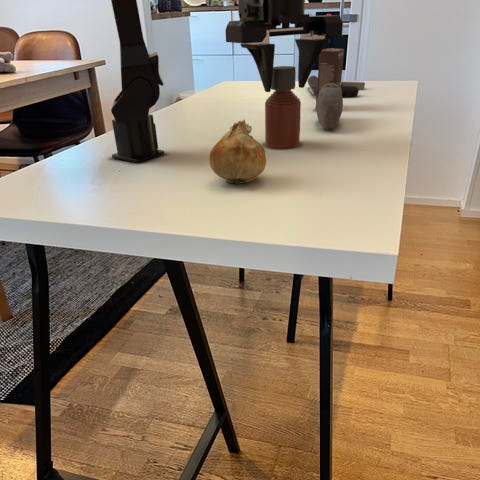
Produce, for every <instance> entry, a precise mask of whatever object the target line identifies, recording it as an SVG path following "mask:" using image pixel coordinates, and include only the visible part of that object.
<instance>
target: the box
mask: <svg viewBox="0 0 480 480" xmlns="http://www.w3.org/2000/svg"><path fill="white" fill-rule="evenodd" d="M344 57H345V49H344V48H323V49H322V51H321V53H320V55H319V57H318V58H319V59H318V69H317V70H318V71H317V78H318V82H317V95H315V104H316V103H317V98H318V95H319V92H320V90H321V89H322V87H323V86H324V85H326V84H327V83H336V84H338V85H339V86H340V88H341V82H342V75H343V67H344ZM315 111H316V107H315Z"/></svg>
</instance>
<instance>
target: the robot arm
mask: <svg viewBox="0 0 480 480" xmlns="http://www.w3.org/2000/svg"><path fill="white" fill-rule="evenodd" d="M110 1H111V6H112V12H113V16H114V21H115V25H116V31H117V35H118V36H117V37H118V40H119V53H120V54H119V59H120V60H119V61H120V80H121V81H120V83H121V90H120V92H119V93H118V94H117V96H116V97H115V98H114V100H113V103H112V106H111V109H110V112H111V115H112V116H113V118H114V119H111V123H112V124H111V125H112V129H113V134H114V141H115V146H116V153H112V154H111V158H112V159H118V160H123V161H127V162H133V163H142V162H144V161H146V160H147V161H148V160H150V159H152V158H155V157H158V156H161V155H164V154H165V150H164V149H159V143H158V135H157V126H156V124H155V121H154V115H153V114H149V113H150V109H151V108H153V107H154V106H155V105H156V104H157V103H158V101H159V99H160V95H161V93H160V91H161V90H160V89H161V88H160V86H161V87H163V86H164V82H163V81H164V80H163V78H162V76H161V75H160V69H159V68H160V65H159V63H160V62H159V60H160V59H159V54H158V52H153V53H149V50H148V47H147V45H146V41H145V38H144V34H143V29H142V23H141V18H140V17H141V16H140V11H139V5H138V1H137V0H110ZM305 9H306V0H238V18H239V19H237V20H228V23H227V25H226V27H225V30H224V31H225V32H224V33H225V43H233V44H240V47H241V48H242V49H246V50H247V52H249V54H250V55H251V57H252V58H253V61H254V64H255V65H256V68H257V71H258V74H259V77H260V80H261V84H262V87H263V89H264V92H265V93H270V92H271V90H272V89H271V85H272V76H273V67H274V61H275V51H276V50H275V49H276V44H275V43H270V37H283V36H298V35H300V38H295V39H294V41H295V44H296V47H297V50H298V65H297V67H298V69H297V81H298V88H299V89H300V88H301V89H303V88H305V86H306V84H307V83H308V82H307V81H308V79H309V78H310V75H311V73H312V71H313V68H314V67H315V64H316V62H317V60H318V58H319V56H320V53H321V51H322V50H323V49H324V47H325V46H326V44H329V43H330V42H331V41H330V40H331V38H330V37H342V36H343V31H344V22H343V20H342V18H341V16H340V15H339V14H338V15H334V14H333V15H332V14H331V15H311V14H310V13H305V11H306V10H305ZM290 25H294V26H290ZM280 26H281V27H280ZM326 37H327V38H326ZM328 37H329V38H328Z"/></svg>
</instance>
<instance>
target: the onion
mask: <svg viewBox="0 0 480 480" xmlns="http://www.w3.org/2000/svg"><path fill="white" fill-rule="evenodd" d="M249 125H250V124H249V123H246V119H245V118H244V119H243V120H238V121H237V122H234V123H233V125H232V126H230V127H229V131H227V132H225V134H224V135H223V136H222V137H221V138H220V139H219V140H218V141H217V142H216V143H215V144H214V146H213V147H212V149H211V151H210V152H209V155H208V163H209V167H210V169H211V171H213V173H214V174H215V175H216V176H217V177H219V178H220V179H223V180H225V181H226V182H227V183H232V184H233V185H235V184H240V185H241V184H245V183H249V182H251V181H254V180H255V179H256V178H257V177H260V175H261V174H262V173H263V172H264V170H265V168H266V165H267V153H266V150H265V148H264V146H263V145H262V144H261V143H260V142H259V141H258V140H256V138H255V139H254V137H253V136H252V135H250V134H251V132H252V130H253V126H252V125H250V126H249Z"/></svg>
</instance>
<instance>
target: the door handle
mask: <svg viewBox="0 0 480 480" xmlns="http://www.w3.org/2000/svg"><path fill="white" fill-rule="evenodd" d="M317 82H318V76H316V75H311V76H309V77H308V80H307V82H306V83H307V84H308V86H309V90H308V91H309V92H310V93H311V94H312V95H313V96H316V95H317ZM365 86H366V83H365V82H364V81H341V90H342V97H348V98H349V97H352V98H354V97H357V96H358V95H359V92H360V91H361V90H365ZM359 90H360V91H359Z"/></svg>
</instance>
